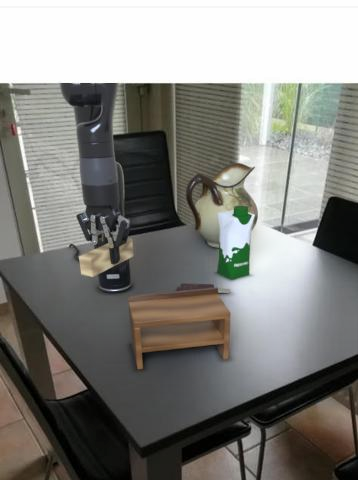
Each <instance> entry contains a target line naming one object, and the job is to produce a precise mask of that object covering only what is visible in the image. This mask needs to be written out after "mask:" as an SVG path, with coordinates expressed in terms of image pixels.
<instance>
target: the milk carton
mask: <svg viewBox="0 0 358 480" xmlns="http://www.w3.org/2000/svg"><path fill="white" fill-rule="evenodd" d="M217 214H218V221H219V227H220V237H219V248H218V262H217V263H218V264H217V270H216V273H217V274H218V275H220V276H222V277H224V278H226V279H228V280H230V281H232V280H237V279H240V278H243V277H247V276H250V256H251V243H252V232H251V229H252V224H253V221H254V217H255V214H252V213H249V212H248V207H246V206H236V207H234V210H231V211H226V212H221V213H217Z"/></svg>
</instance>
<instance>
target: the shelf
mask: <svg viewBox="0 0 358 480" xmlns="http://www.w3.org/2000/svg"><path fill="white" fill-rule="evenodd" d="M218 289H219V287H216V286H215V287H214V288H206V289H195V290H184V291H177V290H174V291H164V292H153V293H145V294H144V293H142V294H133V295H131V294H130V295H127V301H128V302H127V303H128V313H129V314H128V315H129V325H130V326H129V327H130V337H131V346H132V351H133V356H134V359H135V364H136V365H135V366H136V369H137V370H144V363H143V361H144V359H143V353H150V352H152V353H153V352H160V351H169V350H178V349H179V350H180V349H187V348H195V347H204V346H213V345H215V347H216V349H217V350H218V352H219V354H220V356H221V358H222V360H229V358H230V357H229V355H230V339H231V337H230V336H231V334H230V333H231V311H230V310H229V309H228V307H227V305H226V304H225V302H224V301H223V300H222V298H221V296H220V295H219V293H218Z"/></svg>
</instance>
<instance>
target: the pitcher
mask: <svg viewBox="0 0 358 480" xmlns="http://www.w3.org/2000/svg"><path fill="white" fill-rule="evenodd" d="M255 169H256V167H255V166H253V167H251V166H249V165H246V164H245V163H240V162H234V163H230V164H227V165H226V166H224V167H223V168H222V169H221V170H219V172H218V173H216V175H215V176H214V177H213V178H211V177H209V176H208V175H205V174H203V173H201V172H197V173H196V174H194V175H193V176H192V177H191V178H190V179H189V181H188V183H187V185H186V187H185V198H186V202H187V205H188V207H189V209H190V210H191V213H192V222H193V224H194V231H197V232H198V233H199V234H200V236H201V237H202V238H203V239H204V240H206V244H207V245H208V246H210V247H212V248H217V249H219V237H220V227H219V221H218V214H217V213H221V212H226V211H231V210H234V207H236V206H246V207H248V212H249V213H252V214H255V217H254V221H253V224H252V229H251V233H252V232H253V230H254V229H255V227H256V225H257V222H258V219H259V210H258V206H257V204H256V202H255V200H254V199H253V197H252V196H251V195H250V194H249V192H248V191H247V190H246V188H245V185H244V184H245V181H246V178H248V176H249V175H250V174H251V173H252V172H253V171H254V170H255ZM199 184H202V189H201V192H200V193H199V195H198V200H197V201H196V202H195V203H194V199H193V191H194V189H195V187H196V186H197V185H199Z"/></svg>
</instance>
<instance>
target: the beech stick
mask: <svg viewBox="0 0 358 480" xmlns="http://www.w3.org/2000/svg"><path fill="white" fill-rule="evenodd" d="M133 243H134V242H133V239H132V238H128V239H127V242H126V243H125V244H123V245H121V246H119V251H120V261H119V262H118V263H117V264H119V263H121V262H123V261H125V260H127V259H129V260H130V259H131V258H133V257H134V244H133ZM109 248H110V247H109V243H108V244H105V245H103V246H101V247H99V248H97V249H95V248H94V249H92V250H90V251H88V252H85V253H83V254H80V255H79V256H78V258H79V261H78V262H79V268H80V275H81V276H86V277H90V278H95V277H96V276H98V274H100V273H102V272H104V271H106V270H108V269H110V268H111V267H113V266H115V265H117V264H115V265H114V264H111V261H110V251H109Z"/></svg>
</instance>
